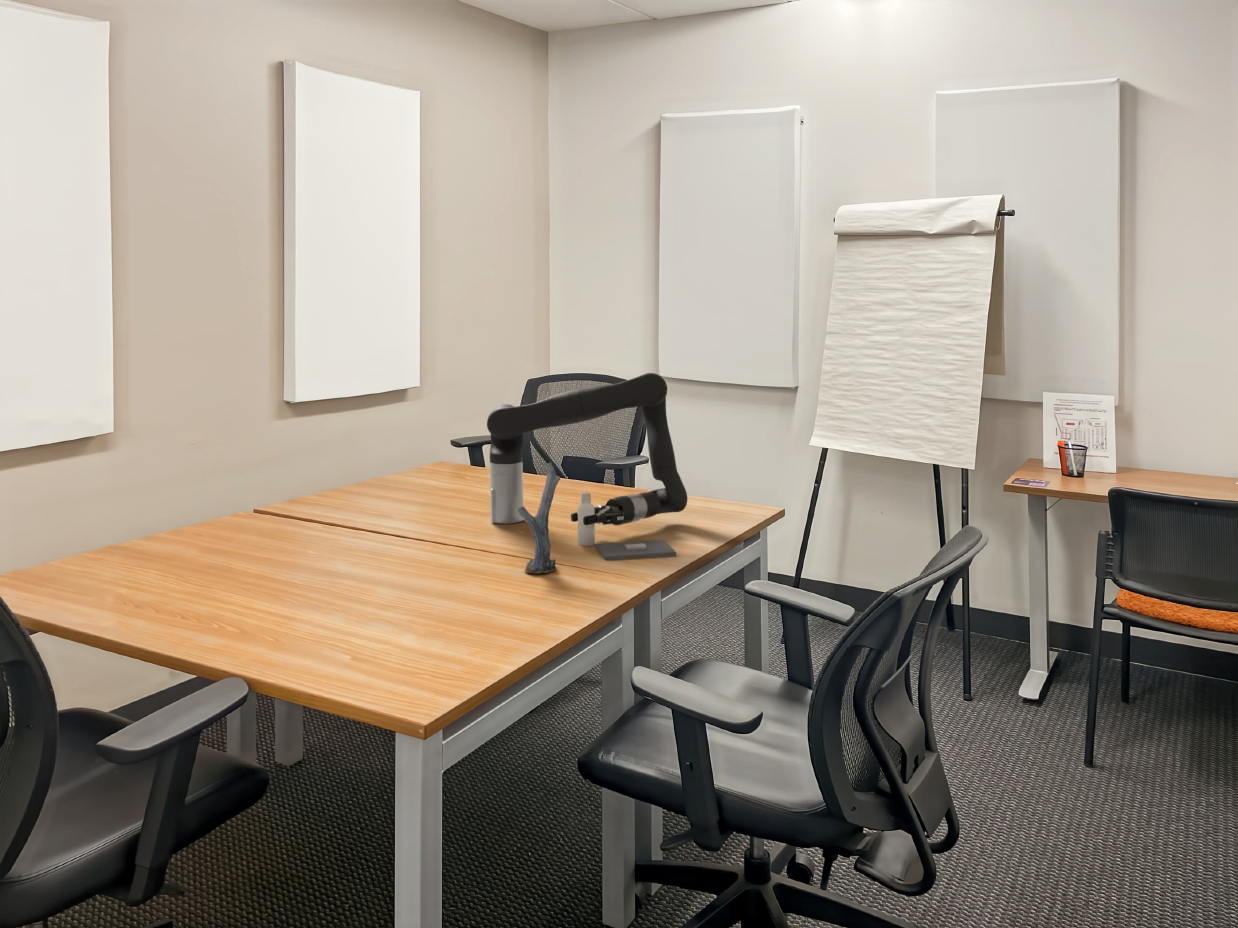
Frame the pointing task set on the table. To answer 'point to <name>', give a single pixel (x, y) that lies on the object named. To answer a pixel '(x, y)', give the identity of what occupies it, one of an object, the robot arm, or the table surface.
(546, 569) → the bare tree trunk
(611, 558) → the dock mat
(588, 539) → the white tabbed cylinder
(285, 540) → the table surface
